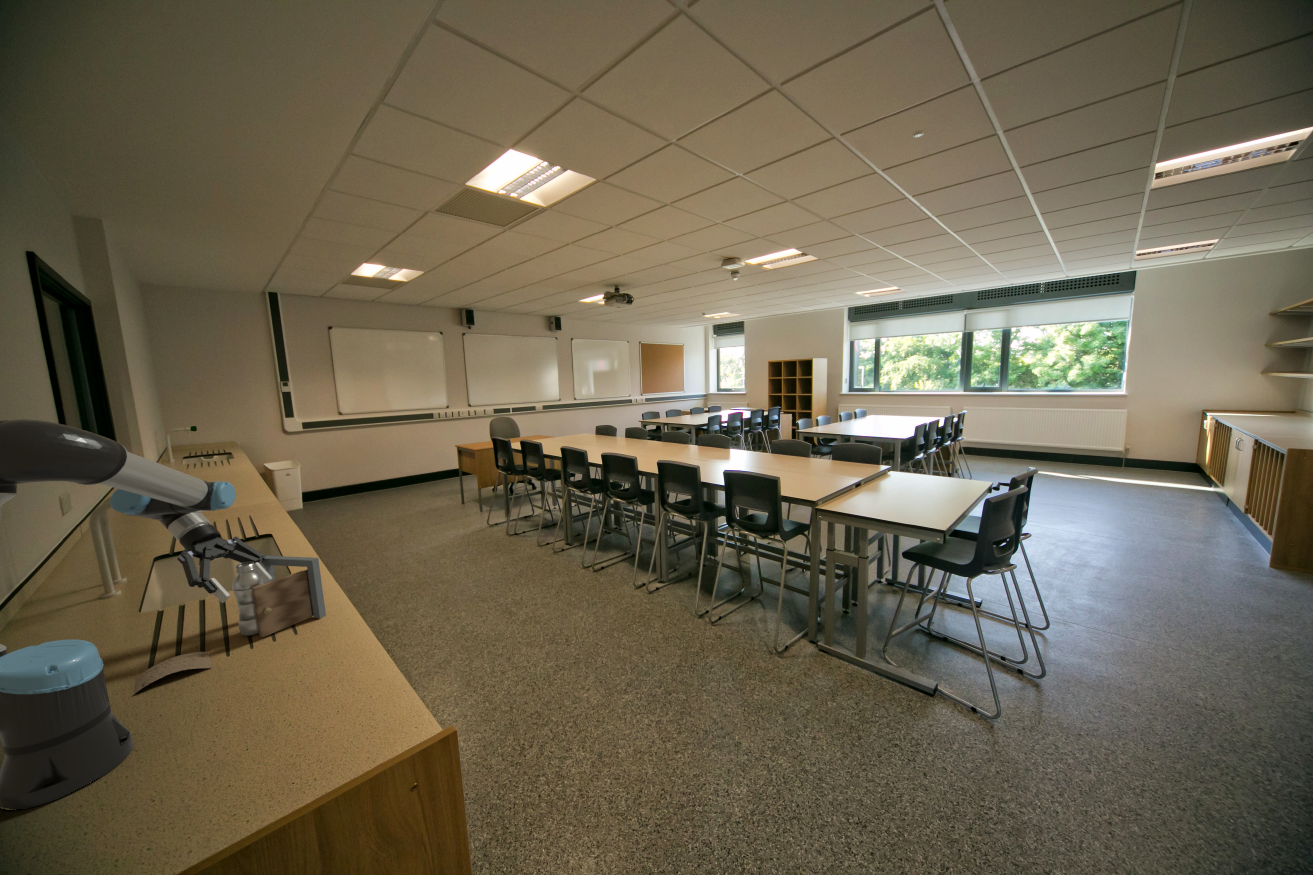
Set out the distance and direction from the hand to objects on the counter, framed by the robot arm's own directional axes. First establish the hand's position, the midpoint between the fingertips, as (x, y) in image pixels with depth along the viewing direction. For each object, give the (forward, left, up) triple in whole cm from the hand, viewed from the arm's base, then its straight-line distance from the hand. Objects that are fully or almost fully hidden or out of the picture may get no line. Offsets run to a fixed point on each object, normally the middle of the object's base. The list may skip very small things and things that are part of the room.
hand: (248, 590), depth 124 cm
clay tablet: (-17, +3, -14) cm, 22 cm away
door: (+4, -7, -12) cm, 15 cm away
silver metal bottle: (+1, +1, -13) cm, 13 cm away
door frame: (+10, -2, -13) cm, 17 cm away
